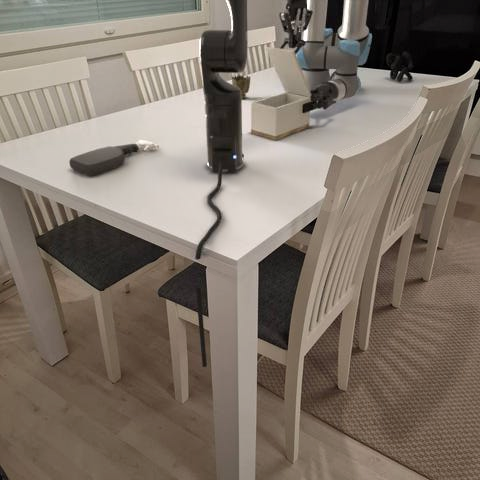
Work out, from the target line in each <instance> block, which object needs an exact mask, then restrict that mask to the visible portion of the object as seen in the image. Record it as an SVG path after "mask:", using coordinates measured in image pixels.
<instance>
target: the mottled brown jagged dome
mask: <svg viewBox="0 0 480 480" xmlns="http://www.w3.org/2000/svg"><path fill="white" fill-rule="evenodd" d="M251 78H252V77H251V76H248V75H246V76H244V75H243V74H242V75H239V74H238V75H237V76H236V75H234V76H231V84H232V85H234V86H237V87H238V88H239V89H240V90H241V94H242V99H245V98H246V96H247V95H246V94H248V93H249V91H250V85H251Z"/></svg>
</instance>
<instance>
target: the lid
mask: <svg viewBox="0 0 480 480" xmlns="http://www.w3.org/2000/svg"><path fill="white" fill-rule="evenodd" d="M288 41H289V37H284V39H283V43H282V44H281V46H280V47H279V48H278V47H271V46H266V48H265V50H266V52H267V55H268V57H269V59H270V61H271V63H272V66H273V68H274V70H275V72H276V74H277V77H278V79H279V81H280V83H281V85H282V87H283V90H284V93H285V92H289V93H294V94H299V95H303V96H308V97H310V96H311V93H310V90H309V87H308V85H307V82H306V80H305V77H304V75H303V72H302V70H301V67H300V65H299V62H298V59H297V57H296V54H297V53H298V51H299V50H300V48H301V47H302V46H305V44H306V42H305V40H303V39H301V40H299V39H296V45H297V46H298V47H296V48H295V50H293V49H286V48H285V47H286V46H287V45H288Z"/></svg>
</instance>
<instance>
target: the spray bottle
mask: <svg viewBox="0 0 480 480" xmlns="http://www.w3.org/2000/svg"><path fill="white" fill-rule="evenodd" d="M159 148H160V145H159V144H158V143H155V142H151V141H148V140H144V139H139V140H138V141H137V142H135V143H129V144H128V143H126V144H122V145H113V146H105V147H100V148H97V149H94V150H90V151H87V152H83V153H81V154H78V155H74V156H73V157H70V159H69V161H68V162H69V167H70V168H71V169H72V170H74V171H75V172H78V173H81V174H83V175H85V176H89V177H90V176H91V177H92V176H95V175H99V174H102V173H105V172H107V171H110V170H113V169H116V168H118V167H120V166H122V165H123V164H124V163H125V158H126V156H127V155H131V154H133V153H138V151H140V150H143V151H144V152H146V151H147V150H149V149H159Z"/></svg>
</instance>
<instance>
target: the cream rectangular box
mask: <svg viewBox="0 0 480 480" xmlns="http://www.w3.org/2000/svg"><path fill="white" fill-rule="evenodd" d="M308 102H311V97H306V96H301V95H296V94H291V93H285V92H283V93H279V94H276V95H272V96H269V97H265V98H263V99H259V100H255V101H252V102H250V119H251V120H250V133H251V134H253V135H256V136H260V137H263V138H266V139H270V140H272V141H278V140H281V139H282V138H285V137H287V136H290V135H293V134H296V133H298V132H300V131H304V130H305V129H308V128H310V114H311V111H309V112H306V113H302V110H303V104H305V103H308Z"/></svg>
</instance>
